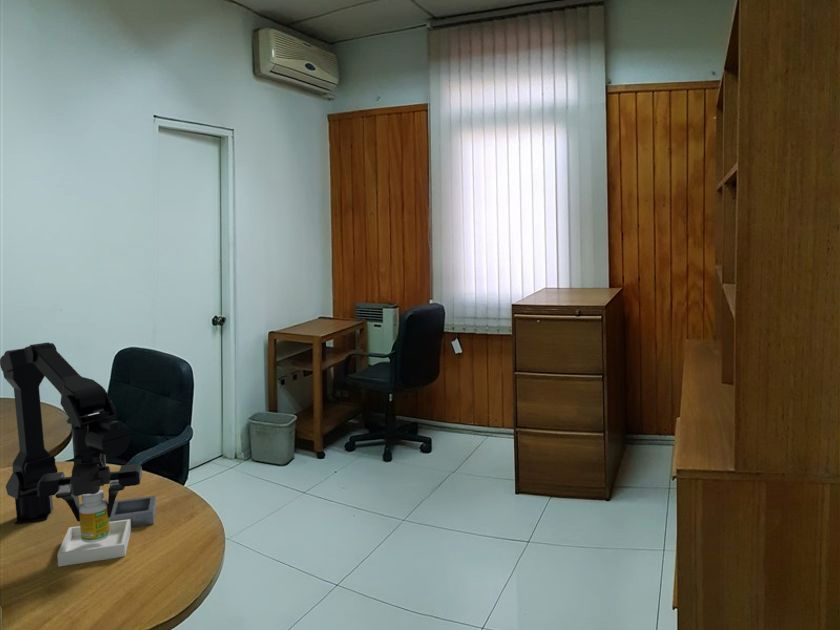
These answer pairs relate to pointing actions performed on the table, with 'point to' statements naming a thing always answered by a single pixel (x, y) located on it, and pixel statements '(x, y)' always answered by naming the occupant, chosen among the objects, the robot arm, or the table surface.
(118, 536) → the tray
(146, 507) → the can holder
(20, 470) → the robot arm
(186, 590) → the table surface
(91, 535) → the supplement bottle
